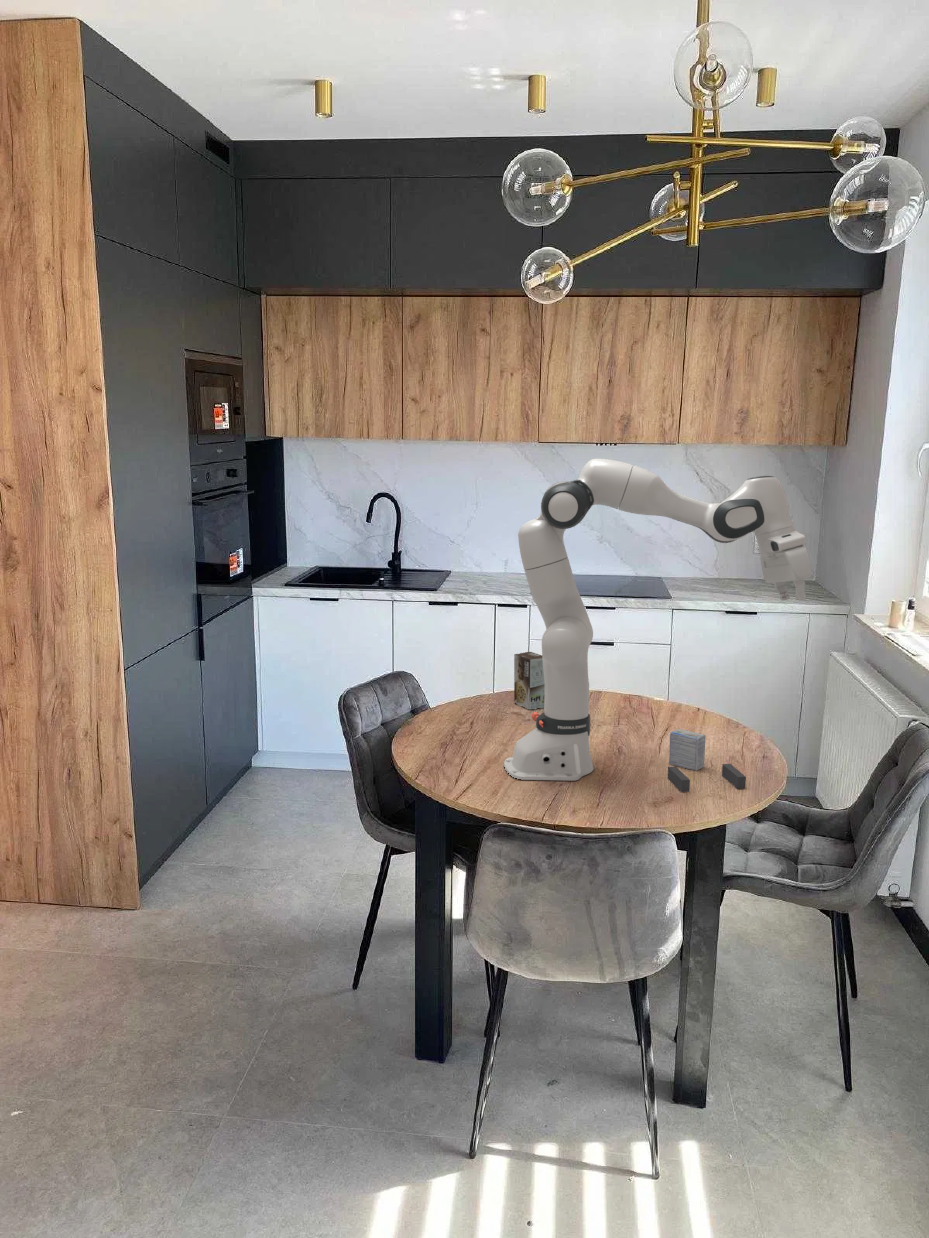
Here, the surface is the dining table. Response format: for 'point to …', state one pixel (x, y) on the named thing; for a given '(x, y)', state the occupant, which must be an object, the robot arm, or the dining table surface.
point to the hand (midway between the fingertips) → (793, 599)
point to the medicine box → (687, 749)
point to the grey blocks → (727, 772)
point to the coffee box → (529, 680)
